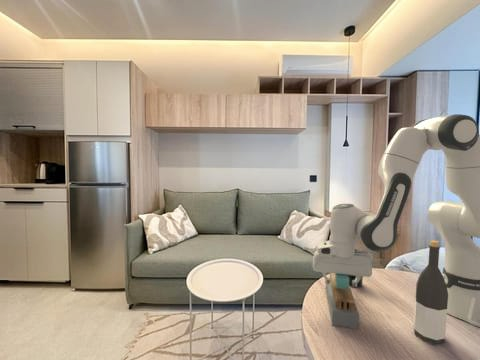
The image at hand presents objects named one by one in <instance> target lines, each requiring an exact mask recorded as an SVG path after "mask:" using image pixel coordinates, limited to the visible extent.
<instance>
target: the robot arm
mask: <svg viewBox="0 0 480 360" xmlns="http://www.w3.org/2000/svg"><path fill="white" fill-rule="evenodd" d="M428 150H433V151H440V150H441V151H442V152H443V153H444V158H445V159H444V160H445V161H444V163H445V164H444V166H445V185H446V188H447V190H448V191H449V192H451V193H452V194H453V195H455V196H457V197H458V198H459V199H460V200H461V202H459V201H450V200H449V201H448V200H445V201H444V200H443V201H435V202H433V203H432V204H431V205H430V206H429V207H428V210H427V214H426V215H427V219H428V221H429V223H430V224H431V225H432V226H433V227H434V228H435V229H436V230H437V232H438V233H439V235H440V237H441V239H442V241H443V247H444V267H443V268H442V275H443V278H444V280H445V283H446V286H447V291H448V304H447V315H450V316H452V317H453V318H457V319H460V320H463V321H465V322H467V323H469V324H471V325H473V326H475V327H479V328H480V247H479V246H478V245H477V244H476V243H475V242H474V240H473V239H472V237H473V238H477V239H480V129H479V125H478V123H477V121H476V120H475V118H473V117H472V116H471V115H470V116H469V115H466V114H460V113H459V114H452V115H440V116H439V115H438V116H434V117H431V118H428V119H422V120H419V121H417V122H415V123H414V124H413V125H411V126H408V127H407V126H406V127H402V128H400V129H398V130H397V132H395V134H394V135H393V136H392V138H391V140H390V141H389V143H388V145H387V146H386V148H385V150H384V152H383V154H382V157H381V159H380V161H379V164H378V169H377V172H378V176H379V178H380V179H381V181H382V183H383V186H384V188H383V189H384V192H383V196H382V198H381V201H380V203H379V207H378V209H377V212H376V214H373V213H370V212H367V211H364V210H362V209H360V208H358V207H357V206H355V205H354V204H352V203H340V204H337V205H335V206H333V207H332V208H331V212H330V216H329V217H330V218H329V230H330V235H329V239H328V240H325V241H321V242H318V243H316V250H315V251H314V253H313V259H312V269H313V271H314V272H319V273H322V276H323V278H324V282H325V285H326V284H330V283H329V282H330V279H329V278H330V277H327V274H330V273H336V274H345V275H355V276H356V279H355V280H352V286H351V287H354V288H358V287H357V283H358V282H359V281H360V279H361V276H363V278H364V277H366V278H370V277H371V276H372V275H373V266H372V265H373V264H372V262H373V260H374V255H373V253H372V252H377V253H378V252H379V253H381V252H386V251H389V250H390V249H392V248H393V247H394V246H395V244H396V242H397V240H398V225H399V221H400V219H401V216H402V213H403V210H404V207H405V205H406V202H407V199H408V197H409V194H410V191H411V187H412V183H413V180H414V177H415V174H416V172H417V169H418V167H419V165H420V164H421V161H422V159H423V157H424V156H423V155H425V153H426V152H427V151H428ZM356 240H361V241H362V242H363V244H364V246H365V247H366V248H367V249H369V250H367V249H359V248H357V249H356ZM371 251H372V252H371Z"/></svg>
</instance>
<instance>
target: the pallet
mask: <svg viewBox="0 0 480 360" xmlns="http://www.w3.org/2000/svg"><path fill="white" fill-rule="evenodd" d="M329 278H330V283H331V288H332V292H333V297H334V301H335V306H336V308H339V309H341V302H342V306H343V309H346V310H347V305H348V309H349V310H354V302H355V298H354V295H353V292H352V289H351V286H350V285H349V290H347V289H338V288H337V287H336V284H335V273H329Z"/></svg>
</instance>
